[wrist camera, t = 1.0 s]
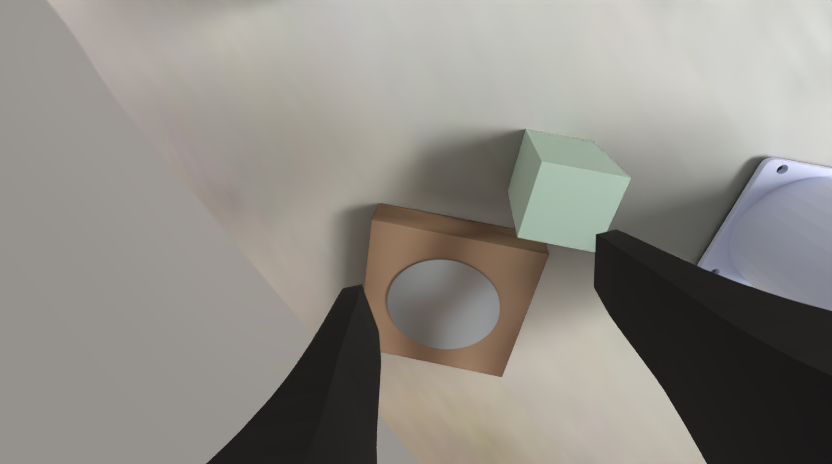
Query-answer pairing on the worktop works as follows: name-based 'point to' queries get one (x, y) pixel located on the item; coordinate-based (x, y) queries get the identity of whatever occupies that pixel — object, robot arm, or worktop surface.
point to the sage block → (564, 190)
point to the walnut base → (449, 287)
